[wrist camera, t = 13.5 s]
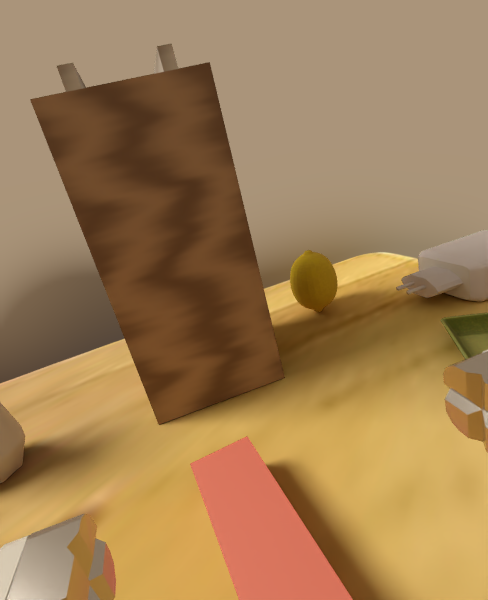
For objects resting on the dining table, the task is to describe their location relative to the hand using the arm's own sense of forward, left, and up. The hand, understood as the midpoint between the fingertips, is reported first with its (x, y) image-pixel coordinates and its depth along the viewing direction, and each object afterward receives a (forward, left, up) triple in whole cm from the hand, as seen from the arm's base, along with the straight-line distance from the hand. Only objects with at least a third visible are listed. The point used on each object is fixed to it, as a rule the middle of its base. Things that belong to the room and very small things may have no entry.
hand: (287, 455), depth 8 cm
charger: (+30, +27, -14) cm, 42 cm away
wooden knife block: (0, +29, -13) cm, 31 cm away
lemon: (+15, +34, -13) cm, 39 cm away
